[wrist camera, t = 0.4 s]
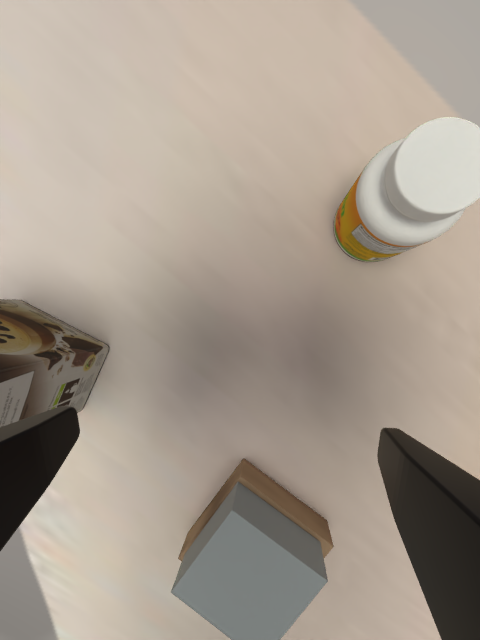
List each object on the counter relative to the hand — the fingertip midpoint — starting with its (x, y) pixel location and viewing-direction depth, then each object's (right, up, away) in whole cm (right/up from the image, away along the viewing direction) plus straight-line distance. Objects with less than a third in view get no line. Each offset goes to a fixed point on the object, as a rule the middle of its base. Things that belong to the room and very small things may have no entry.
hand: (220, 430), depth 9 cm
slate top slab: (+1, -13, +13) cm, 18 cm away
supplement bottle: (+10, +10, +14) cm, 20 cm away
